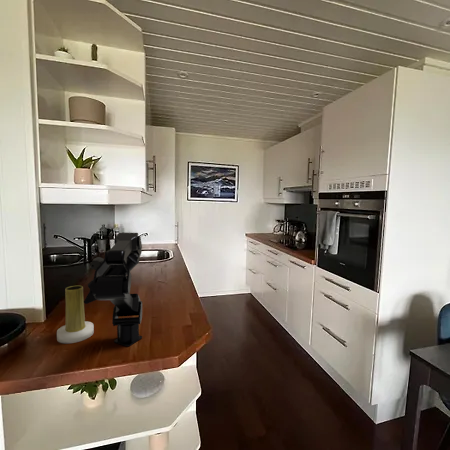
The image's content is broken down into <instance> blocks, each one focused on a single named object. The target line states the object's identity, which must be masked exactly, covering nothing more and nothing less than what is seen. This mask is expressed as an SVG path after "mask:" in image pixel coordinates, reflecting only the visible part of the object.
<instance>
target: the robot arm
mask: <svg viewBox="0 0 450 450" xmlns="http://www.w3.org/2000/svg"><path fill="white" fill-rule="evenodd" d="M114 238H115V239H114V240H113V243H114V245H113V246H112V247H111V248H110V249H108V250H106V251H105V254H104V258H103V257H101V256H97V257H95V258H93V260H92V261H91V262H90V263H89V265H90V266H89V269H91V270H93V271H94V275H93V279H92V280H91V281H90V282H89V283H88V284H87V288H88V289H89V292H88V294H87V295H86V296H85V299H84V305H88V304H90V303H92V302H95V301H109V302H110V303H112V304H113V305H114V307H113V310H112V318H111V319H112V326H113V327H116V337H117V338H116V339H114V341H113V343H114V344H118V345H122V346H124V347H125V346H126V347H130V346H132V345H133V344H135V343H137V342H138V341H140V340H142V339H143V336H142V335H140V332H139V331H140V328H139V327H140V325H141V323H142V319H143V301H142V300H141V298H140V295H139V294H138V293H131V285H132V272H131V271H132V270H133V269H134V268H135V267H136V266H137V265H138V264H139V263H140V257H141V254H142V252H143V251H142V249H143V243H142V238H141V235H139V232H119V233H117V235H116V236H115V237H114Z"/></svg>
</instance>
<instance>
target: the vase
mask: <svg viewBox="0 0 450 450" xmlns="http://www.w3.org/2000/svg"><path fill="white" fill-rule="evenodd" d="M64 291H65V292H64V293H65V295H64V296H65V325H66V327H65V330H66V331H67V332H77V331H80V330H82V329H84V328H85V327H86V325H85V321H86V317H85V316H86V315H85V303H84V300H85V299H84V286H82V285H70V286H67V287H65V290H64Z"/></svg>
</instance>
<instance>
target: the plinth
mask: <svg viewBox="0 0 450 450" xmlns="http://www.w3.org/2000/svg"><path fill="white" fill-rule="evenodd" d="M85 325H86V327H85V328H84V329H82V330H80V331H77V332H67V331H66V330H65V327H66V324H65V325H62V326H60V328H58V329H57V330H56V340H57V342H58V343H59V344H74V343H79V342H82V341H85V340H87V339H89V338H91V336H93V335H94V332H95V330H94V329H95V328H94V327H95V326H94V323H93V322H91V321H86V320H85Z"/></svg>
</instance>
